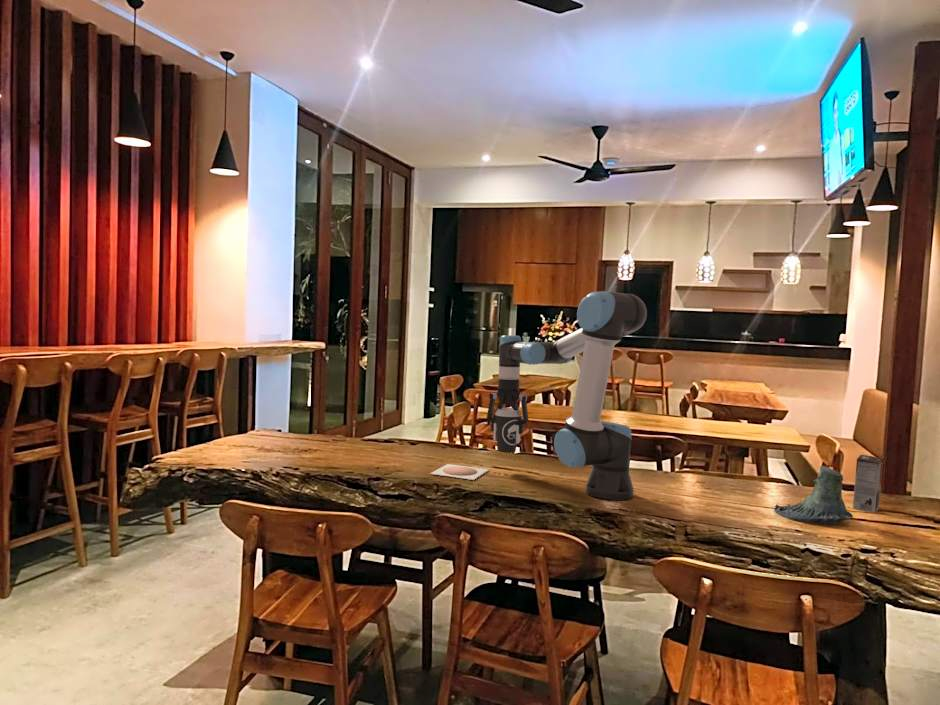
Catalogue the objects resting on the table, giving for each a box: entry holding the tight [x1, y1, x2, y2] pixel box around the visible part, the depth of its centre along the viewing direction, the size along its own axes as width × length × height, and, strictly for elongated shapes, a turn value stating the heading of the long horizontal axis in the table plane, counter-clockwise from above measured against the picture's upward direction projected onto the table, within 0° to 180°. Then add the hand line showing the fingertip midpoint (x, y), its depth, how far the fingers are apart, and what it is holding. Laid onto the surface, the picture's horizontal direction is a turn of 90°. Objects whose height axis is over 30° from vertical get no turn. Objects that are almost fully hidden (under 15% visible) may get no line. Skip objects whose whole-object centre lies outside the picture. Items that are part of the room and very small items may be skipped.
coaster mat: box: [429, 463, 490, 482], centre depth 223 cm, size 16×16×1 cm
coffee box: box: [852, 454, 884, 514], centre depth 201 cm, size 9×6×16 cm
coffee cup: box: [494, 407, 522, 453], centre depth 228 cm, size 10×10×15 cm
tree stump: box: [773, 465, 854, 526], centre depth 189 cm, size 18×20×18 cm
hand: (506, 441), depth 228 cm, fingers closed on coffee cup, 8 cm apart
